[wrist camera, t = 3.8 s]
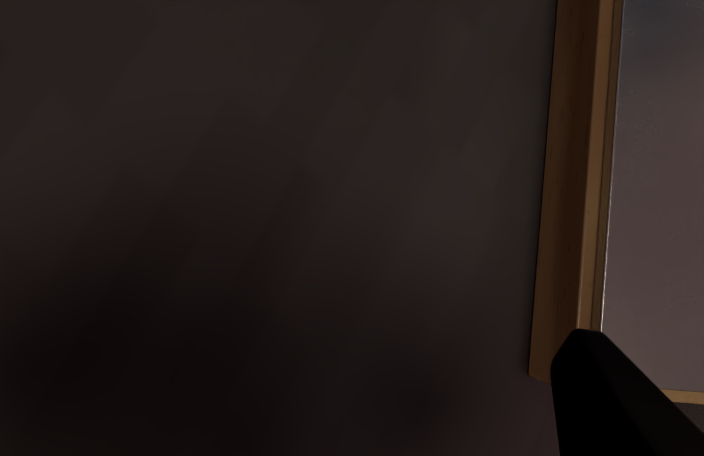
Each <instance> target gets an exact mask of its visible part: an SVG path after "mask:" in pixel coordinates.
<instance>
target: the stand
mask: <svg viewBox="0 0 704 456" xmlns="http://www.w3.org/2000/svg"><path fill="white" fill-rule="evenodd" d="M578 328H580V329H590V330H598V331H601V332H603V333H604V334H605V335H606V336H607V337H608V338H609V339H610V340H611V341H612V342H613V343H614V344H615V345H616V346H617V347H618V348H619V349H620V350H621V351H622V352H623V353H624V354H625V355H626V356H627V357H628V358H629V359H630V360H631V361H632V362H633V363H634V364H635V365H636V366H637V367H638V368H639V369H640V370H641V371H642V372H643V373H644V374H645V375H646V376H647V377H648V378H649V379H650V380H651V381H652V382H653V383H654V384H655V385H656V386H657V387H658V388H659V389H660V390H661V391H662V392H663V393H664V394H665V395H666V396H667V397H668V398H669V399H670V400H671V401H672V402H679V403H692V404H704V0H558V6H557V19H556V31H555V44H554V57H553V69H552V82H551V95H550V107H549V120H548V133H547V146H546V158H545V171H544V184H543V196H542V209H541V222H540V234H539V247H538V260H537V272H536V285H535V298H534V310H533V323H532V336H531V348H530V361H529V376H531V377H534V378H536V379H538V380H541V381H543V382H545V383H548V384H550V385H551V377H550V367H551V363H552V360H553V358H554V356H555V355H556V353H557V352H558V350H559V349H560V347H561V346H562V344H563V343H564V341H565V340H566V338H567V337H568V335H569V334H570V332H571V331H573V330H575V329H578Z"/></svg>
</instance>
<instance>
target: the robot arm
mask: <svg viewBox="0 0 704 456" xmlns="http://www.w3.org/2000/svg"><path fill="white" fill-rule="evenodd" d="M550 377H551V386H552V394H553V402H554V410H555V418H556V426H557V434H558V442H559V450H560V456H704V433H703V432H702V431H701V430H700V429H699V428H698V427H697V426H696V425H695V424H694V423H693V422H692V421H691V420H690V419H689V418H688V417H687V416H686V415H685V414H684V413H683V412H682V411H681V410H680V409H679V408H678V407H677V406H676V405H675V404H674V403H673V402H672V401H671V400H670V399H669V398H668V397H667V396H666V395H665V394H664V393H663V392H662V391H661V390H660V389H659V388H658V387H657V386H656V385H655V384H654V383H653V382H652V381H651V380H650V379H649V378H648V377H647V376H646V375H645V374H644V373H643V372H642V371H641V370H640V369H639V368H638V367H637V366H636V365H635V364H634V363H633V362H632V361H631V360H630V359H629V358H628V357H627V356H626V355H625V354H624V353H623V352H622V351H621V350H620V349H619V348H618V347H617V346H616V345H615V344H614V343H613V342H612V341H611V340H610V339H609V338H608V337H607V336H606V335H605V334H604V333H603V332H601V331H598V330H590V329H580V328H578V329H575V330H573V331H571V332H570V334H569V335H568V337H567V338H566V340H565V341H564V343H563V344H562V346H561V347H560V349H559V350H558V352H557V353H556V355H555V356H554V358H553V360H552V363H551V367H550Z"/></svg>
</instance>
